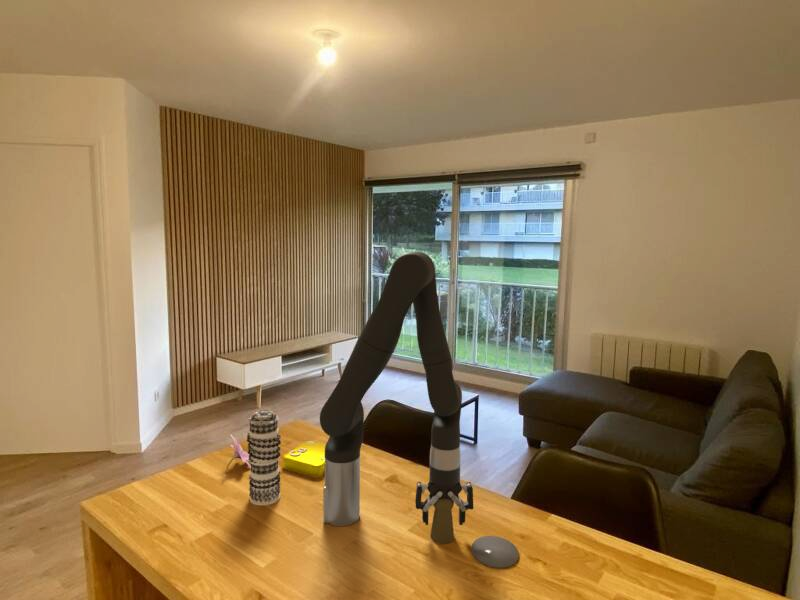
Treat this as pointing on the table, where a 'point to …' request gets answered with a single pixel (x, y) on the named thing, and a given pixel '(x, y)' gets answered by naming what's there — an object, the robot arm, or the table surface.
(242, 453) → the lily
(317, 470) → the element tile
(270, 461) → the decorative candle
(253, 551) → the table surface
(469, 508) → the robot arm
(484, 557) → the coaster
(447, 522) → the olive game pawn
